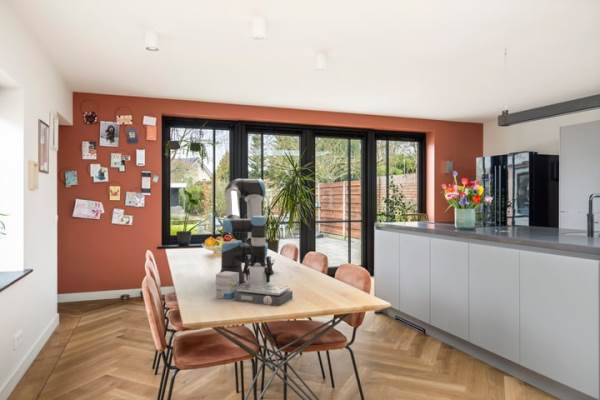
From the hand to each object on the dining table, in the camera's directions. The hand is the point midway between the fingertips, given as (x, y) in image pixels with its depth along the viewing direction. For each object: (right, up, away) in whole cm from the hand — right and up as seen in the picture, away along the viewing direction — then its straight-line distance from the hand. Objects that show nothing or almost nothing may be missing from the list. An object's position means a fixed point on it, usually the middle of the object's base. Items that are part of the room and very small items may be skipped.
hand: (257, 287), depth 219 cm
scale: (+5, -2, -18) cm, 19 cm away
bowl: (-4, -1, +50) cm, 50 cm away
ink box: (-14, -2, -13) cm, 19 cm away
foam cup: (0, -2, 0) cm, 2 cm away
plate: (+5, +3, -18) cm, 19 cm away
